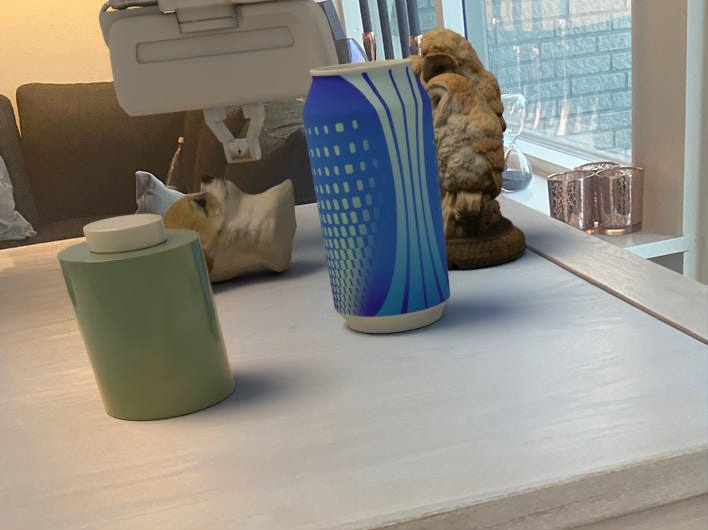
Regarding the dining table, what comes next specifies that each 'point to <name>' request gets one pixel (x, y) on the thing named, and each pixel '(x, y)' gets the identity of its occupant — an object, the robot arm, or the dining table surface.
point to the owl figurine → (467, 150)
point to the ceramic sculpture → (238, 226)
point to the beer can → (378, 194)
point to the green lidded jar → (147, 317)
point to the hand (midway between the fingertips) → (244, 160)
